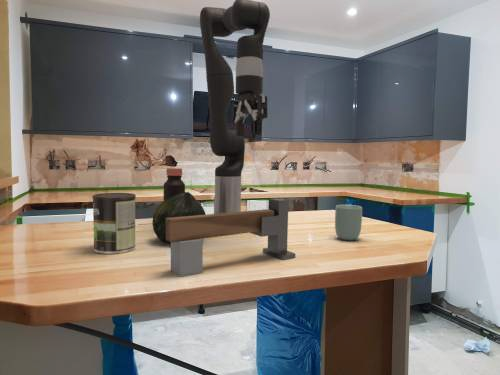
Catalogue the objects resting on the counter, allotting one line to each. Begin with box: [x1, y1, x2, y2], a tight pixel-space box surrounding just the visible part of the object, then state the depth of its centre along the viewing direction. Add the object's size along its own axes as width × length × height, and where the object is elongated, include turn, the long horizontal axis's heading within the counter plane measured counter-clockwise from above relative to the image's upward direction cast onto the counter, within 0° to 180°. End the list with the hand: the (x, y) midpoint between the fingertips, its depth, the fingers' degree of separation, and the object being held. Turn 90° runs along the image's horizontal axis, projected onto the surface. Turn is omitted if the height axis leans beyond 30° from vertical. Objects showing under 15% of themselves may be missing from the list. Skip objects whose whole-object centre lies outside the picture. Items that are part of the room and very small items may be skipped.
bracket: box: [249, 197, 296, 261], centre depth 89 cm, size 8×10×14 cm
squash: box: [152, 191, 207, 243], centre depth 104 cm, size 14×15×15 cm
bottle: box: [163, 167, 186, 201], centre depth 117 cm, size 7×7×20 cm
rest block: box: [170, 239, 204, 277], centre depth 77 cm, size 5×5×7 cm
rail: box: [166, 208, 274, 244], centre depth 82 cm, size 3×26×4 cm, turn 124°
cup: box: [334, 204, 363, 241], centre depth 110 cm, size 8×8×10 cm
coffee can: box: [92, 192, 137, 255], centre depth 94 cm, size 10×10×14 cm
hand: (248, 135), depth 103 cm, fingers open, 8 cm apart
